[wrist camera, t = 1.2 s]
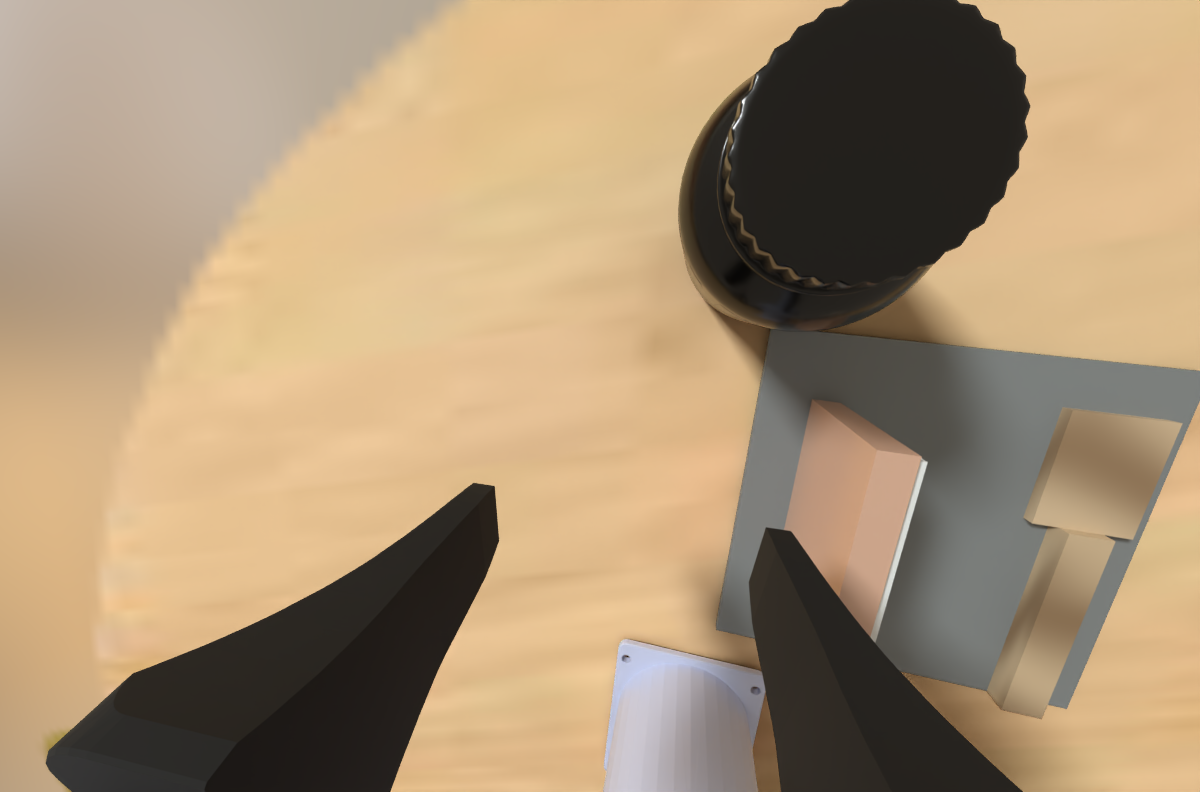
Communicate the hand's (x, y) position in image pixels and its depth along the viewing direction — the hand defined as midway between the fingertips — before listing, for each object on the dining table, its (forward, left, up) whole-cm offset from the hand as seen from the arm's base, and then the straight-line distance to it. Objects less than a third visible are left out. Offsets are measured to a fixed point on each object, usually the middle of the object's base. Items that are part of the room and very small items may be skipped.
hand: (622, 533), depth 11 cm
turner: (-4, -18, -10) cm, 21 cm away
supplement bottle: (+9, -4, -11) cm, 14 cm away
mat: (-3, -13, -11) cm, 17 cm away
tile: (-2, -8, -10) cm, 13 cm away
